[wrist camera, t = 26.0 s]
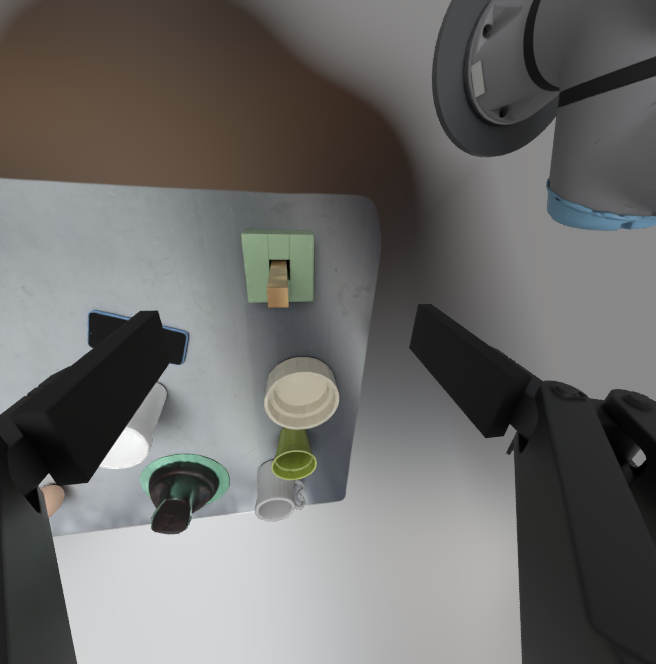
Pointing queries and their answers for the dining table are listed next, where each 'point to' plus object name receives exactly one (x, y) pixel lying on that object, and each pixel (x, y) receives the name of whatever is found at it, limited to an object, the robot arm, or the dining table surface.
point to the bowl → (301, 393)
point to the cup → (137, 433)
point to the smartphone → (108, 323)
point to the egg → (53, 498)
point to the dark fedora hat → (181, 489)
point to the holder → (278, 246)
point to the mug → (276, 495)
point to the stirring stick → (277, 285)
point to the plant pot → (293, 455)
